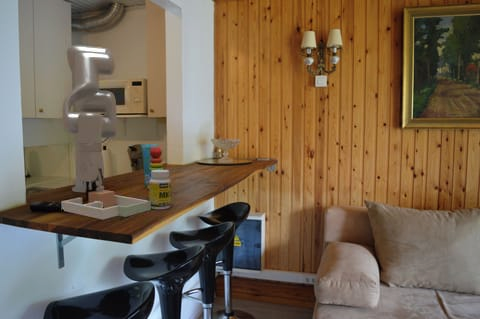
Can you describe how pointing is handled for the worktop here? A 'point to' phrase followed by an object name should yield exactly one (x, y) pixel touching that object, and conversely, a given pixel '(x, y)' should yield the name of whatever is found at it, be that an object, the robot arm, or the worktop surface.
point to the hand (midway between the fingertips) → (91, 200)
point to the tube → (147, 160)
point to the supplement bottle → (160, 189)
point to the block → (103, 197)
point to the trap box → (97, 211)
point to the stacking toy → (155, 161)
